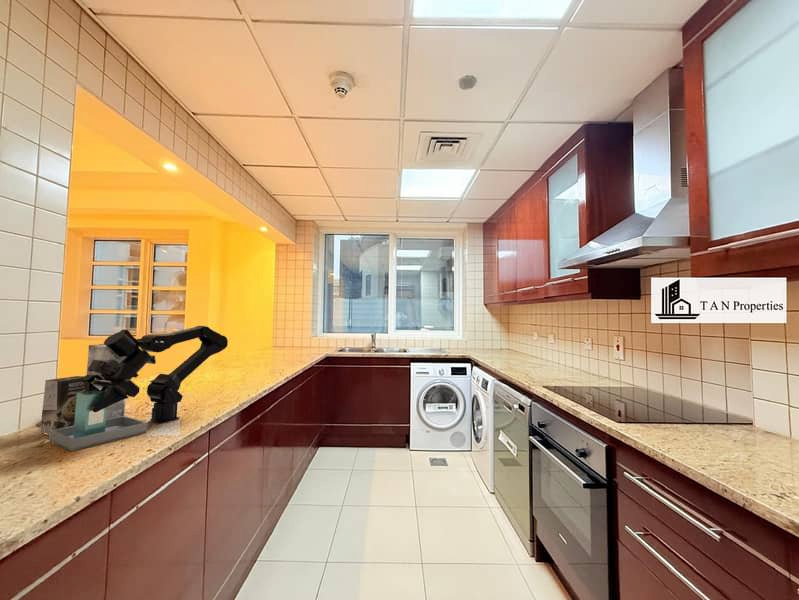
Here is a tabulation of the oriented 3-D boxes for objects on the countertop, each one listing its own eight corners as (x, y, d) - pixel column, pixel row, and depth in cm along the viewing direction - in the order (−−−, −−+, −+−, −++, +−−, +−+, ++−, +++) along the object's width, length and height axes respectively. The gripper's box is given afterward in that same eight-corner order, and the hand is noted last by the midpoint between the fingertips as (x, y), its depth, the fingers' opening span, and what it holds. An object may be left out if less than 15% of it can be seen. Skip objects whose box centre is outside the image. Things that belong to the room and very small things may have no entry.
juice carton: (99, 425, 112) (105, 342, 113) (78, 421, 115) (84, 340, 116) (128, 418, 120) (134, 340, 121) (108, 415, 123) (113, 339, 125)
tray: (123, 424, 113) (124, 415, 113) (146, 432, 107) (147, 422, 107) (49, 441, 97) (49, 430, 97) (70, 451, 91) (71, 440, 91)
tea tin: (94, 434, 102) (97, 390, 103) (104, 437, 100) (108, 391, 101) (73, 439, 97) (76, 393, 98) (83, 442, 96) (87, 395, 96)
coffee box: (55, 436, 101) (60, 381, 102) (39, 434, 102) (43, 379, 103) (89, 427, 110) (93, 376, 111) (73, 425, 111) (77, 375, 112)
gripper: (91, 347, 107) (41, 390, 96) (131, 351, 101) (83, 397, 90) (117, 370, 114) (74, 411, 103) (156, 374, 108) (114, 420, 97)
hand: (85, 410), depth 98 cm, fingers open, 7 cm apart
